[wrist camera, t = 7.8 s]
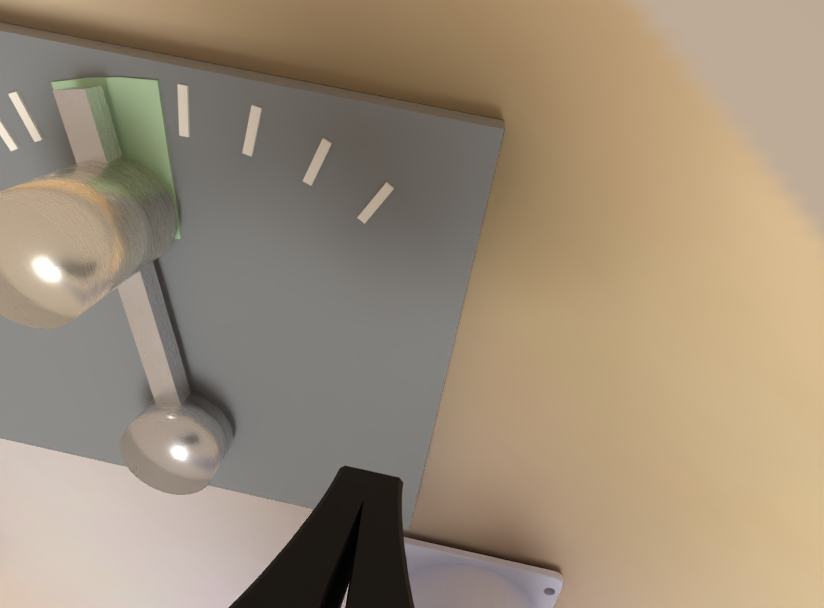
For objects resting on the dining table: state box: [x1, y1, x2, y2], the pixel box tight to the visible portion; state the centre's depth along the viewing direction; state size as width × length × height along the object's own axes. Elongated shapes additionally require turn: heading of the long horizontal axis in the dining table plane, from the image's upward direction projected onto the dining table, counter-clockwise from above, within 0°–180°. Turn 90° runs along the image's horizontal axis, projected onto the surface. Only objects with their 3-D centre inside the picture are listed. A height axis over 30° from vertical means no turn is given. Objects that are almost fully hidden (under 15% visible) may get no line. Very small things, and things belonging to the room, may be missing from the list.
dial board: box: [0, 22, 505, 530], centre depth 21 cm, size 17×19×2 cm
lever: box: [0, 86, 233, 495], centre depth 18 cm, size 15×4×5 cm, turn 3°
